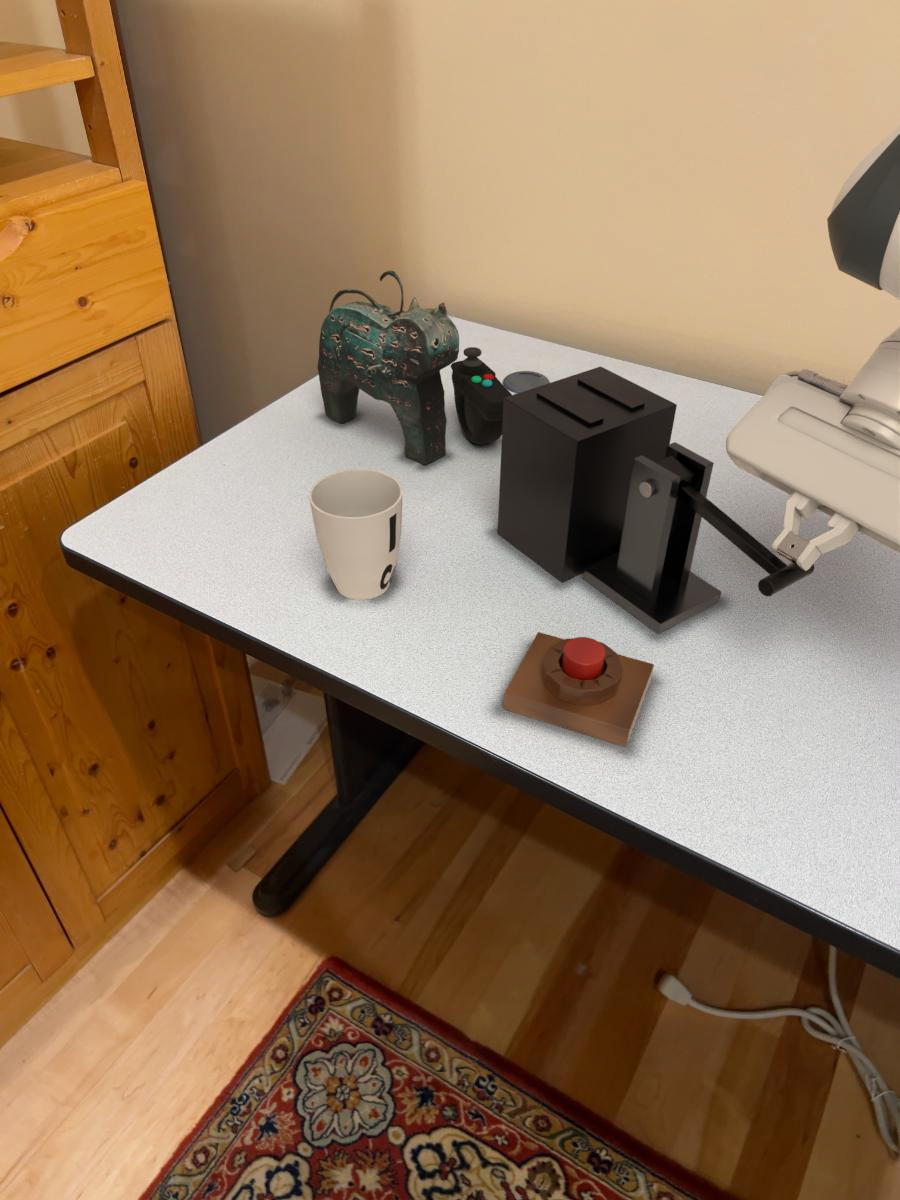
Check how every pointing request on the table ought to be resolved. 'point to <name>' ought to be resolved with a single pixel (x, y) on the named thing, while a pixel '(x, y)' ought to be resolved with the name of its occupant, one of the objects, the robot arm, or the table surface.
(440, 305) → the ceramic cat
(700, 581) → the toaster bracket
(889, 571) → the table surface
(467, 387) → the controller
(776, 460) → the robot arm
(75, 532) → the table surface
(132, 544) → the table surface
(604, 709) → the control block
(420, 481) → the table surface
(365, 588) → the cup
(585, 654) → the button
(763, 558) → the toaster lever
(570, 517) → the toaster
